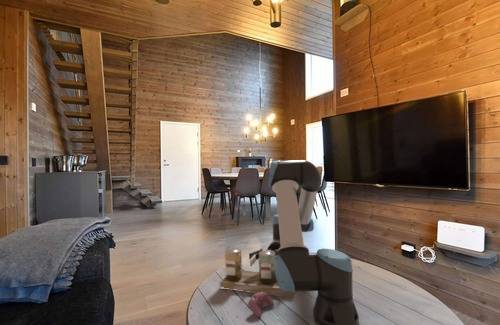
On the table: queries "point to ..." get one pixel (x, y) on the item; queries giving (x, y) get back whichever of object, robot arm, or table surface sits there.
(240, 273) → the mustard tin
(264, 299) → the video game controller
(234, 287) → the wooden tray
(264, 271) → the green tin
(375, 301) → the table surface
